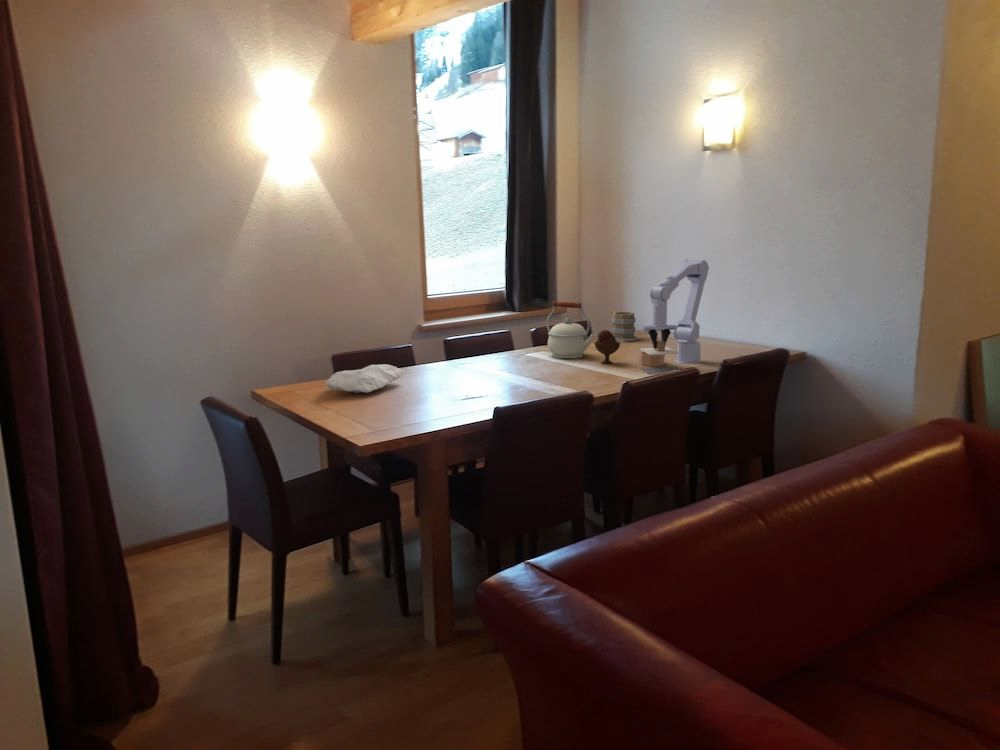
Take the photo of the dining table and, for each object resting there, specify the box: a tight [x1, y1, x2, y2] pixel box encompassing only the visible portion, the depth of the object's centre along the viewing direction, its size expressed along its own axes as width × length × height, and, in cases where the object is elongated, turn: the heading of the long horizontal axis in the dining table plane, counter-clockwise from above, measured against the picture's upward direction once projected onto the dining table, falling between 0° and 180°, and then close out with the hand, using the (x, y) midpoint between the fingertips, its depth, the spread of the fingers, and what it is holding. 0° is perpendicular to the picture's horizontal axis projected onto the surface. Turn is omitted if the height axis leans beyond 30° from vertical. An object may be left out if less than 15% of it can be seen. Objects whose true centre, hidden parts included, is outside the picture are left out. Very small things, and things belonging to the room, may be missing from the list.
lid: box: [640, 339, 678, 355], centre depth 314 cm, size 12×12×5 cm
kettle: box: [545, 300, 596, 359], centre depth 343 cm, size 25×18×25 cm
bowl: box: [638, 351, 666, 367], centre depth 323 cm, size 10×10×5 cm
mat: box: [639, 366, 681, 376], centre depth 310 cm, size 16×12×1 cm
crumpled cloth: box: [324, 363, 404, 394], centre depth 288 cm, size 24×35×9 cm
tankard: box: [609, 308, 637, 343], centre depth 387 cm, size 20×13×15 cm, turn 16°
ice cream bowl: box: [594, 329, 621, 365], centre depth 326 cm, size 11×11×15 cm
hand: (658, 347), depth 314 cm, fingers closed on lid, 3 cm apart
